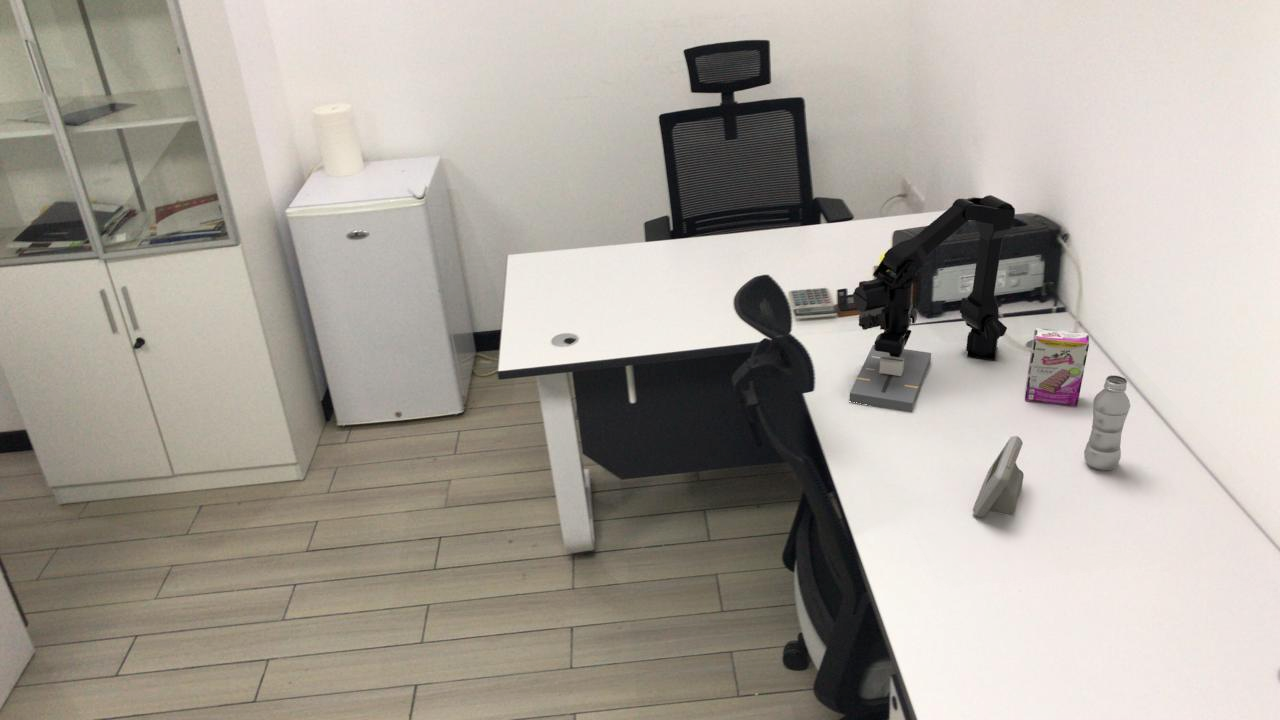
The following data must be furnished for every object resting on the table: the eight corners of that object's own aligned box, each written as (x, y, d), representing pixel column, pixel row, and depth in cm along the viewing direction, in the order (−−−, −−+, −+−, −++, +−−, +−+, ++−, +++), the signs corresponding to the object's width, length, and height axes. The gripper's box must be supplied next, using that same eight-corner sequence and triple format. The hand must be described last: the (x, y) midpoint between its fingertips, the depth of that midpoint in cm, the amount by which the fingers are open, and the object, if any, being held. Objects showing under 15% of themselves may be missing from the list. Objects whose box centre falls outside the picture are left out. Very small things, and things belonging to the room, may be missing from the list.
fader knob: (903, 370, 234) (904, 357, 232) (901, 376, 231) (901, 363, 230) (882, 366, 235) (882, 354, 234) (879, 372, 233) (880, 360, 232)
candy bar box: (1024, 402, 224) (1033, 337, 216) (1024, 390, 228) (1033, 327, 220) (1078, 408, 220) (1090, 342, 212) (1077, 396, 224) (1088, 331, 216)
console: (930, 361, 242) (931, 352, 240) (911, 412, 223) (912, 402, 222) (872, 353, 247) (873, 344, 246) (849, 402, 228) (849, 392, 227)
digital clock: (991, 471, 202) (997, 427, 197) (1035, 486, 197) (1043, 442, 192) (956, 511, 192) (961, 466, 187) (1002, 529, 187) (1008, 483, 181)
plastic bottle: (1121, 475, 198) (1139, 389, 189) (1085, 473, 200) (1101, 387, 190) (1114, 456, 204) (1131, 372, 194) (1079, 454, 205) (1094, 370, 195)
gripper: (872, 280, 238) (868, 338, 245) (853, 315, 223) (850, 375, 231) (919, 286, 233) (915, 345, 241) (903, 321, 219) (899, 382, 227)
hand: (894, 361), depth 235 cm, fingers closed
